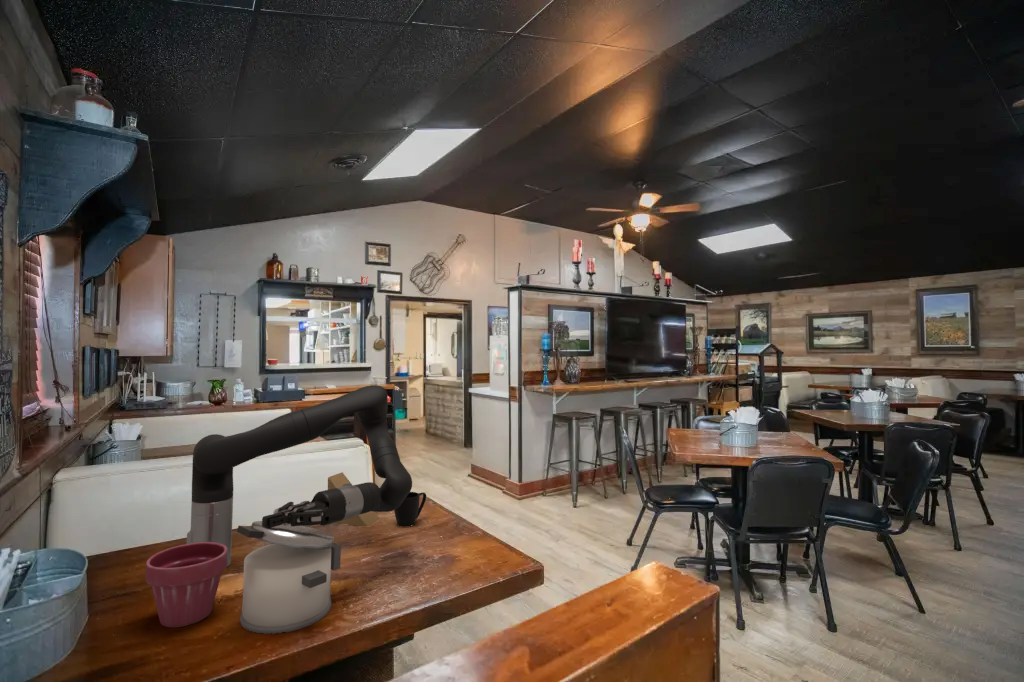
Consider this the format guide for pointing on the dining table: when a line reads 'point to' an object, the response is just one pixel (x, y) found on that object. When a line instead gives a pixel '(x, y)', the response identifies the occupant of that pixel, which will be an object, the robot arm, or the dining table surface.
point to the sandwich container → (357, 520)
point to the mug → (409, 509)
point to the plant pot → (186, 581)
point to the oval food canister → (287, 587)
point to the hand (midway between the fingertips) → (264, 522)
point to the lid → (289, 535)
